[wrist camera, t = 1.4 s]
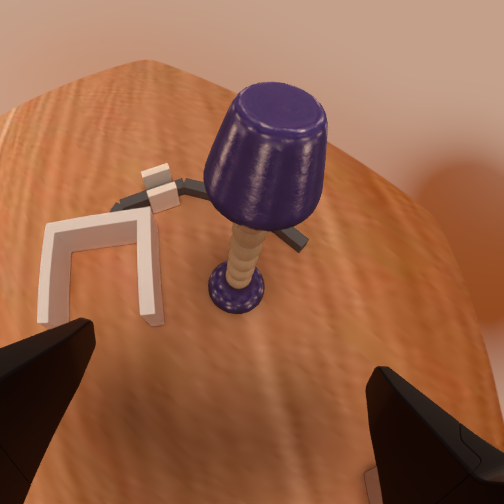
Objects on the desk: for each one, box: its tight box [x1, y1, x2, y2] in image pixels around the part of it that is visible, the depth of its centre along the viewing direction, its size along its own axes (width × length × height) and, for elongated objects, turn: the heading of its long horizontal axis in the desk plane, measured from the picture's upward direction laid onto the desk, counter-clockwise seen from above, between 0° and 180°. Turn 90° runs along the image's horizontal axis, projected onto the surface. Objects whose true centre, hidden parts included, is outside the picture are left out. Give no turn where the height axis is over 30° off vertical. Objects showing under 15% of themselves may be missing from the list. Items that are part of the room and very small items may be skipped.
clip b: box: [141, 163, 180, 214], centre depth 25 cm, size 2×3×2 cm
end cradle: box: [37, 207, 165, 329], centre depth 21 cm, size 8×9×4 cm
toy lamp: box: [204, 82, 328, 314], centre depth 16 cm, size 5×5×17 cm
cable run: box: [109, 178, 309, 252], centre depth 25 cm, size 6×17×1 cm, turn 86°
